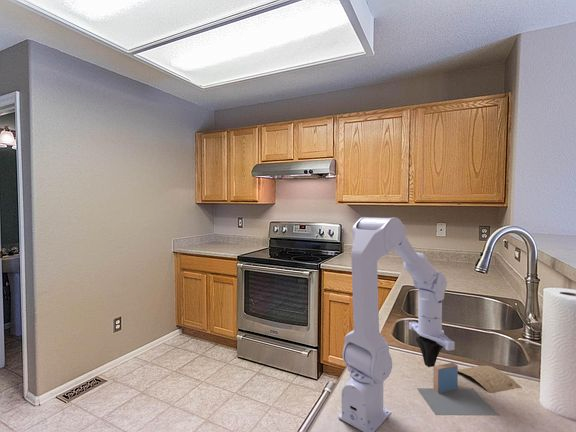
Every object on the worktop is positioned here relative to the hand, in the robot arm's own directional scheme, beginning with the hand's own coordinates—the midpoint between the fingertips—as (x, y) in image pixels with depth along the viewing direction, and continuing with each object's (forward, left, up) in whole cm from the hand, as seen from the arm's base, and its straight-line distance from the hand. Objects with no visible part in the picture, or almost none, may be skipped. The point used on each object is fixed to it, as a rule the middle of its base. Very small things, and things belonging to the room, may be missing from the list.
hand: (429, 365), depth 82 cm
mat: (-6, -8, -4) cm, 11 cm away
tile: (-3, -5, -3) cm, 6 cm away
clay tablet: (+10, -11, -5) cm, 15 cm away
